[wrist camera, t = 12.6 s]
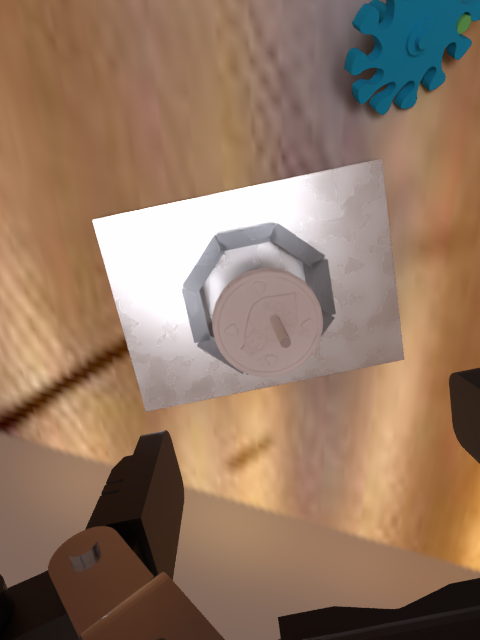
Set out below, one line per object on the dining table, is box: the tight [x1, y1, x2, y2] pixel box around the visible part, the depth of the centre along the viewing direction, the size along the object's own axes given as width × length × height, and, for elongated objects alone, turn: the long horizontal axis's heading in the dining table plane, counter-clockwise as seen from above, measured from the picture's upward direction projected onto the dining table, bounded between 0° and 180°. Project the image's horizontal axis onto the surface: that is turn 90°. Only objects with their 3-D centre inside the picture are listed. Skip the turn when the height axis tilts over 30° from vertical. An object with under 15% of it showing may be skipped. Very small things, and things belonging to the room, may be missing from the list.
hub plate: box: [92, 159, 404, 412], centre depth 32 cm, size 16×22×5 cm
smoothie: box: [212, 268, 323, 377], centre depth 26 cm, size 6×6×14 cm
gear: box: [344, 0, 480, 115], centre depth 28 cm, size 11×6×10 cm
